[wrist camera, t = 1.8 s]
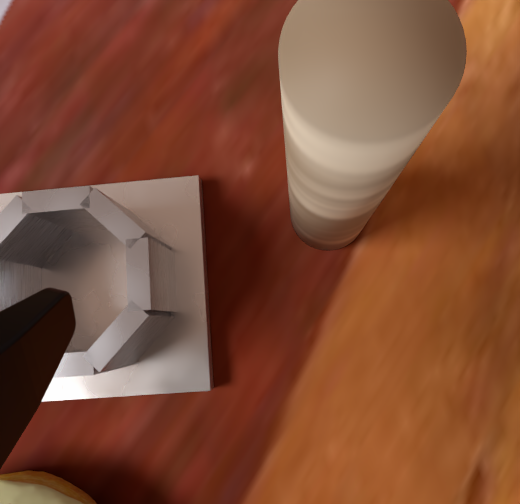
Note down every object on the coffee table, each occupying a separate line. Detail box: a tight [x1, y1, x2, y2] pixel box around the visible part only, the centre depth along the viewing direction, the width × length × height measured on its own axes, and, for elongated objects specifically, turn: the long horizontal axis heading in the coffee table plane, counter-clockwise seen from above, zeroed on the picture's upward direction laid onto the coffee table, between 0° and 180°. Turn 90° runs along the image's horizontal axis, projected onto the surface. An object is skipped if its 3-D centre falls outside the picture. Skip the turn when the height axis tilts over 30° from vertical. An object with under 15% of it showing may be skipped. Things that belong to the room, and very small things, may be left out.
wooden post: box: [278, 0, 467, 250], centre depth 15 cm, size 3×3×13 cm
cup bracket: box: [0, 176, 214, 401], centre depth 19 cm, size 9×9×4 cm
